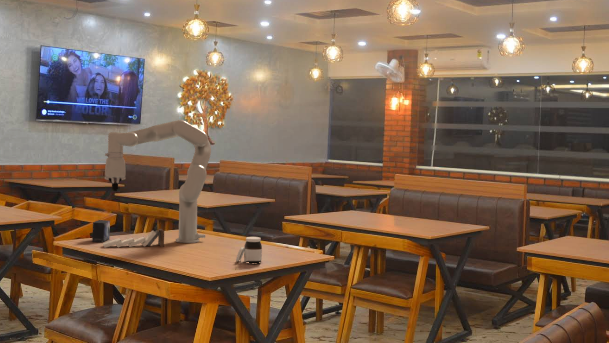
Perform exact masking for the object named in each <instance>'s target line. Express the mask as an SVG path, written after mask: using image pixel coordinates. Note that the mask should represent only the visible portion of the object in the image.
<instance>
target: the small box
mask: <svg viewBox="0 0 609 343" xmlns="http://www.w3.org/2000/svg"><path fill="white" fill-rule="evenodd" d="M110 223H111V220H106V219H105V220H104V219H98V220H95V221H94V222H92V239H91V242H92V243H105V242H108V241H110V231H111V230H110V227H111V225H110Z"/></svg>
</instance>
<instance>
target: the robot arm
mask: <svg viewBox="0 0 609 343" xmlns="http://www.w3.org/2000/svg"><path fill="white" fill-rule="evenodd" d="M107 137H108V138H107V139H108V140H107V143H108V144H107V146H108V147H107V153H104V156H105V157H106V161H105V167H104V169H105V170H104V180H106V181H109V182H110V183H111V190H112V191H113V192H118V190H119V183H120V182H121V181H124V180H126V179H127V177H126V173H127V172H126V161H125V158H124V146H125V147H130V148H131V147H134V146H137V145H141V144H145V143H151V142H152V143H153V142H160V141H164V140H168V139H173V138H178V137H180V138H181V139H183V140H185V141H186V142H189V144H192V145H193V146H194V153H193V157H192V159H191V162H190V165H189V167H188V169H187V172H186V173H187V177H186V180H184V181H185V182H184V183H183V184H182V185H181V186H180V188H179V191H178V201H179V203H178V204H179V205H178V208H179V212H178V237H177V238H175V242H177V243H181V244H195V243H199V242H200V238H201V239H203V238H204V239H205V238H206V234H205V233H204V234H203V233H202V234H201V233H198V232H197V230H198V229H197V228H198V199H199V197H200V195H201V192H202V190H203V187H204V185H205V182H206V179H207V173H208V172H207V170H206V169H207V167H208V164H209V160H210V158H211V154H212V147H211V143H210V140H209V137H208V134H207V133H206V132H205V131H203V130H202V129H199V128H198V127H196V126H193V125H192V124H191V123H189V122H187V121H185V120H183V119H176V120H173V121H169V122H164V123H160V124H155V125H151V126H149V127H146V128H141V129H136V130H133V131H128V132H120V131H119V132H118V131H110V132H108V136H107ZM115 178H116V179H115Z"/></svg>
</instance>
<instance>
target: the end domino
mask: <svg viewBox="0 0 609 343" xmlns="http://www.w3.org/2000/svg"><path fill="white" fill-rule="evenodd" d="M154 232H155V233H156V235H155V236H154V237H153V238H152V239H151V240H150V242H149V243H148V244H147V245H146V246H148V247H149V246H151V245H152V244H153V243H154V242H155V240H156V239H158V236H159V235H160V232H159V231H158V229H156V230H155V231H154Z"/></svg>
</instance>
